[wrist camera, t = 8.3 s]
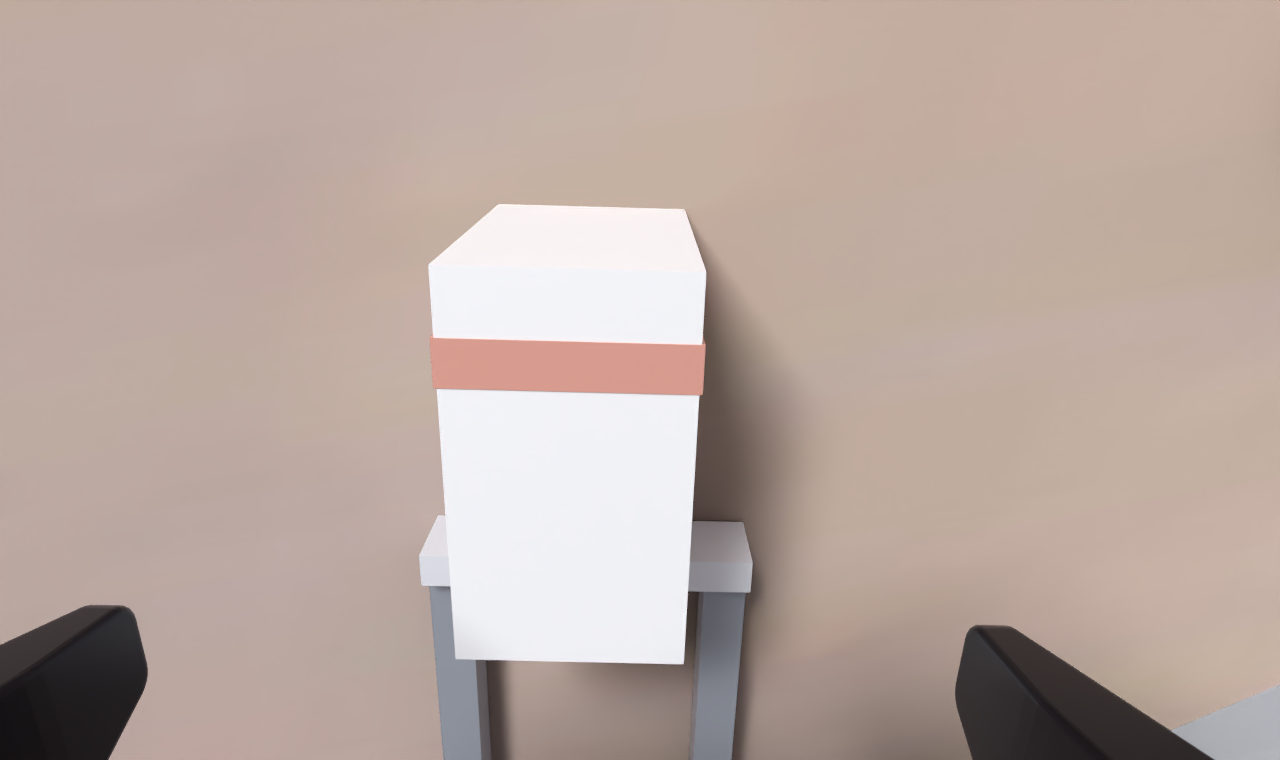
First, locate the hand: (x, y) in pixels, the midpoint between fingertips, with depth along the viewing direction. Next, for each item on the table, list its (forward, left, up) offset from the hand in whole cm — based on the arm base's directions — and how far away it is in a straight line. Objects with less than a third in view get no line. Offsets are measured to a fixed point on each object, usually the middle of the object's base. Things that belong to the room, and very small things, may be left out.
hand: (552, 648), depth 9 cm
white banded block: (0, 0, -10) cm, 10 cm away
